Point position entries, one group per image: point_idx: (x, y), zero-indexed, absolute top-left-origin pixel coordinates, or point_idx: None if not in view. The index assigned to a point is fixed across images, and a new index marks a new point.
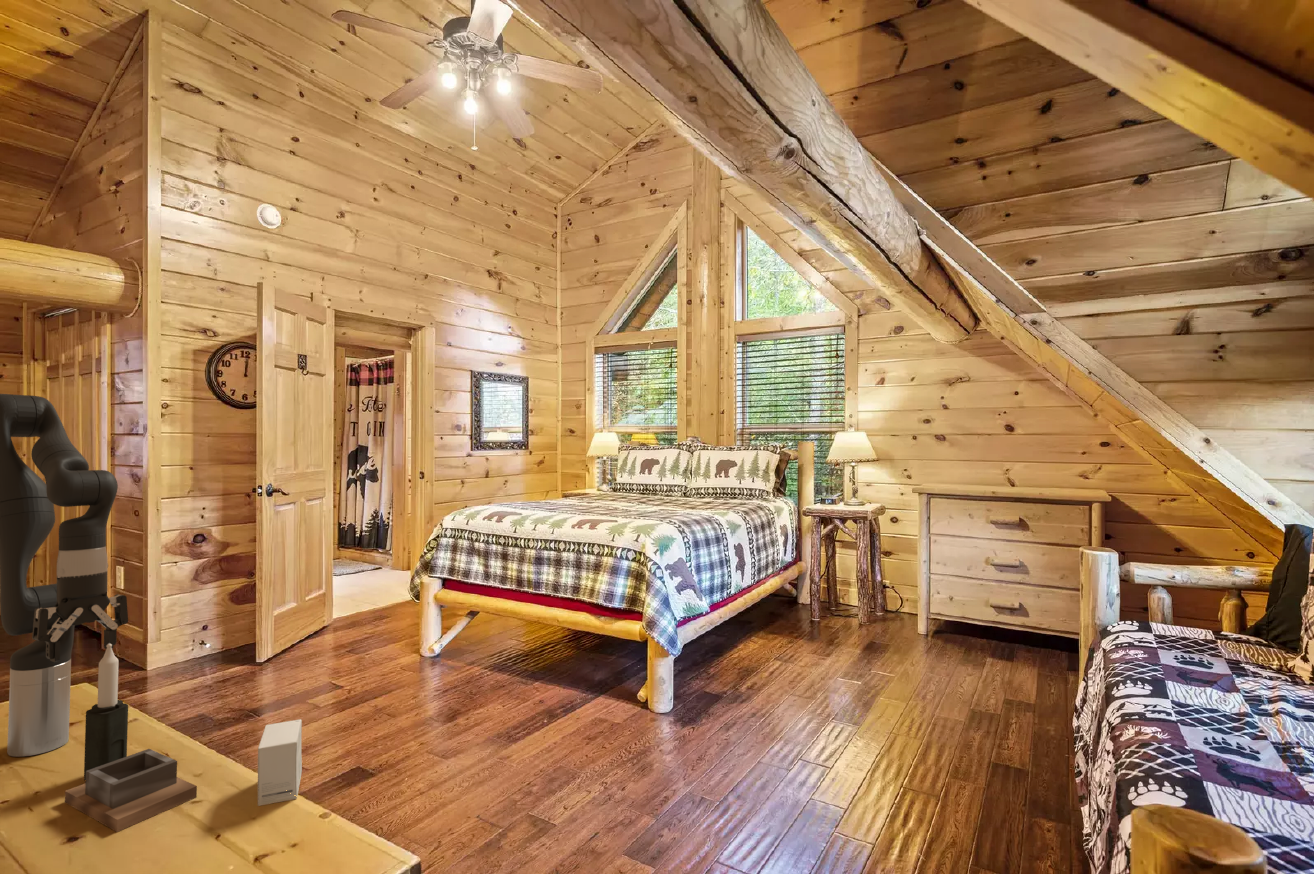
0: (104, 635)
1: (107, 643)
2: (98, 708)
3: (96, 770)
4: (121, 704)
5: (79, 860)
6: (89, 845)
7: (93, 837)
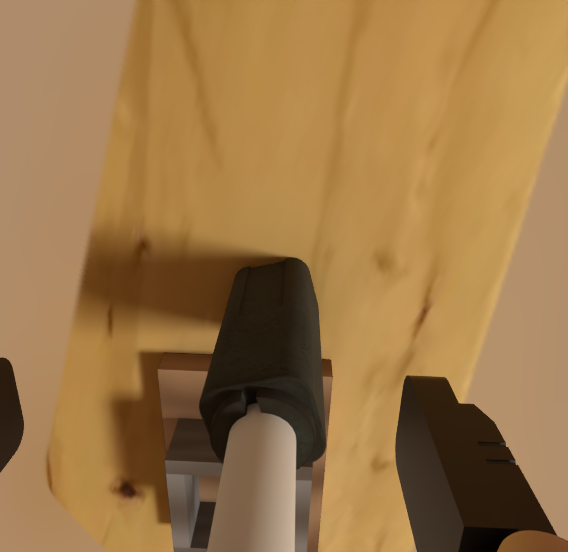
0: (438, 477)
1: (407, 467)
2: (222, 451)
3: (180, 476)
4: (296, 466)
5: (113, 547)
6: (137, 525)
7: (150, 510)
